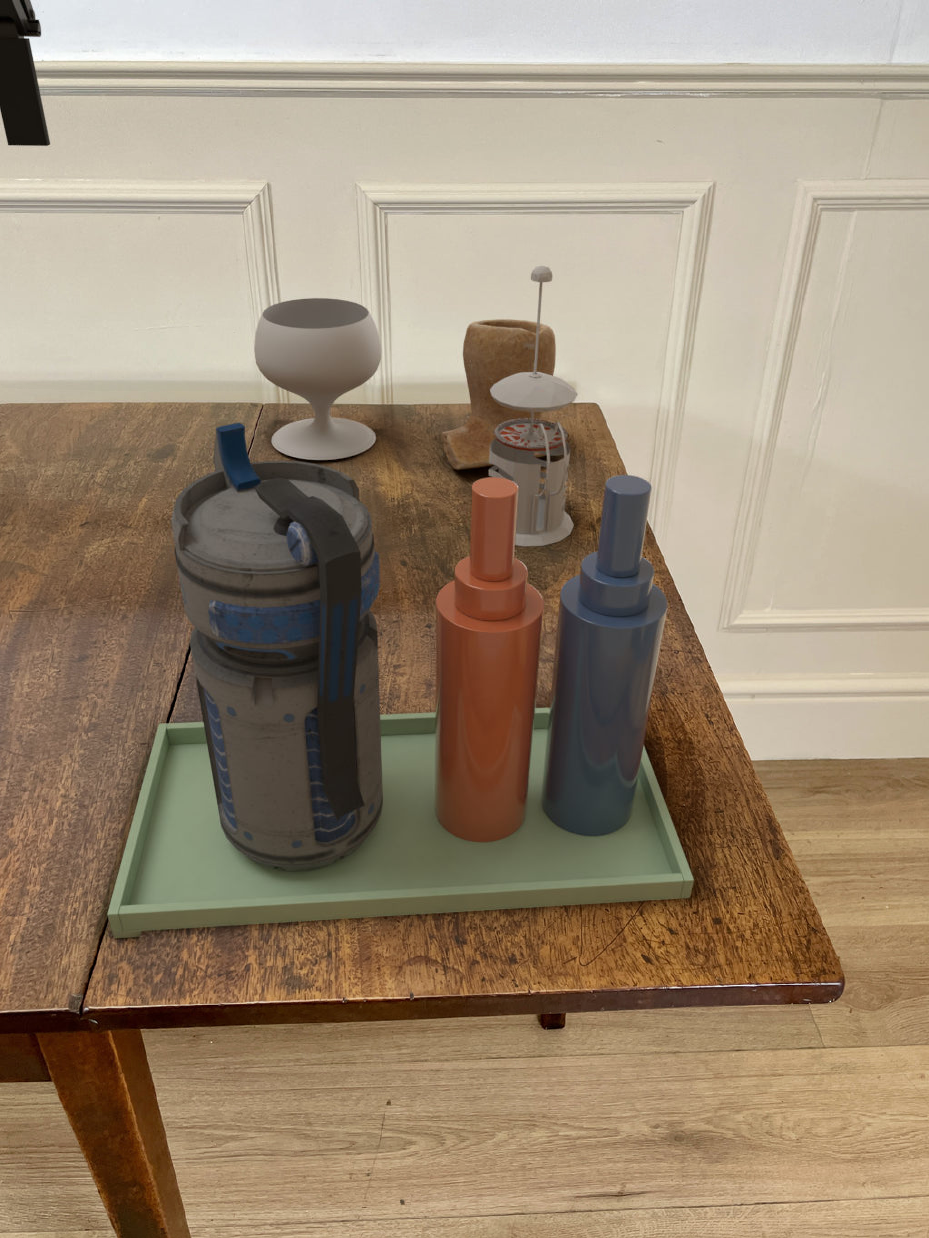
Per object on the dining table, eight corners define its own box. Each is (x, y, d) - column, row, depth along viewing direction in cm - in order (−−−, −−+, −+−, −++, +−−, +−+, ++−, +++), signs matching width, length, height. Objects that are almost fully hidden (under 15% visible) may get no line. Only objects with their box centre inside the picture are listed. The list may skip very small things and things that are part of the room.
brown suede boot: (529, 425, 116) (537, 301, 108) (579, 462, 108) (592, 331, 99) (416, 443, 111) (415, 315, 103) (459, 484, 102) (462, 347, 94)
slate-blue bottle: (548, 839, 59) (583, 512, 46) (534, 772, 64) (561, 461, 51) (642, 834, 60) (702, 509, 47) (620, 768, 65) (669, 459, 52)
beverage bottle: (284, 938, 52) (233, 548, 38) (192, 797, 61) (124, 438, 47) (435, 859, 57) (439, 489, 43) (330, 740, 66) (305, 399, 52)
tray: (113, 938, 53) (106, 914, 52) (163, 746, 66) (158, 723, 65) (688, 903, 56) (694, 880, 55) (625, 726, 69) (628, 703, 68)
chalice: (271, 472, 103) (257, 336, 95) (257, 424, 115) (244, 298, 106) (395, 460, 107) (392, 328, 99) (370, 414, 118) (366, 292, 110)
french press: (551, 495, 100) (572, 250, 86) (597, 547, 91) (628, 282, 77) (464, 506, 98) (470, 255, 84) (501, 561, 89) (515, 289, 75)
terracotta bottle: (437, 845, 58) (441, 515, 46) (431, 777, 63) (433, 463, 51) (533, 839, 59) (563, 512, 46) (519, 773, 64) (543, 461, 51)
